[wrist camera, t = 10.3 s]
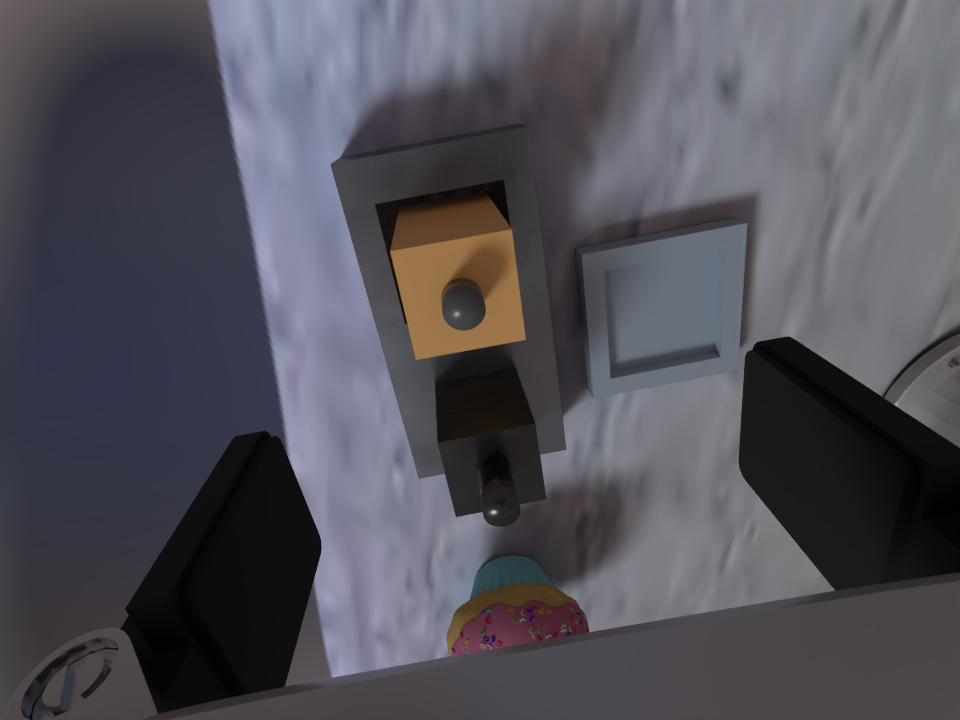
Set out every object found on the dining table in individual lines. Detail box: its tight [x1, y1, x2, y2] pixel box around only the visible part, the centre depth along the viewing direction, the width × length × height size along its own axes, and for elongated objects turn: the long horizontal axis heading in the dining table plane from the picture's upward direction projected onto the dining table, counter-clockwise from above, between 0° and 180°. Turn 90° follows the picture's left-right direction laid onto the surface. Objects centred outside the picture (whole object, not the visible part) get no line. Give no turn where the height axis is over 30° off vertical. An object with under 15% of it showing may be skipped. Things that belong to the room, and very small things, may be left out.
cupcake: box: [447, 555, 589, 657], centre depth 30 cm, size 9×8×12 cm
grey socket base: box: [331, 124, 566, 527], centre depth 22 cm, size 16×8×10 cm, turn 10°
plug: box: [390, 191, 526, 360], centre depth 21 cm, size 4×4×9 cm
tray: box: [575, 218, 748, 398], centre depth 27 cm, size 8×8×1 cm
